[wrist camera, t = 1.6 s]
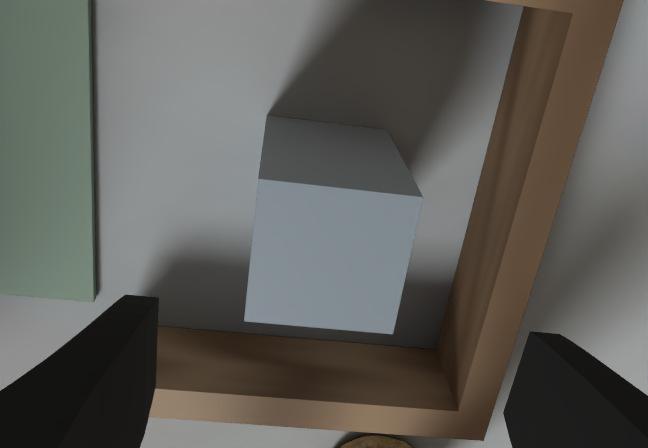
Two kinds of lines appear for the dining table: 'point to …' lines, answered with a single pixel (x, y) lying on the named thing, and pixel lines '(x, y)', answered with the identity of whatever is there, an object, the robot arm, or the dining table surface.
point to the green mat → (46, 150)
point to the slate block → (330, 227)
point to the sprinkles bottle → (376, 442)
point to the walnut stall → (468, 286)
